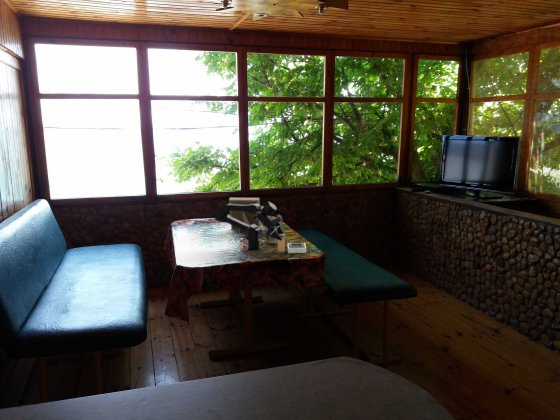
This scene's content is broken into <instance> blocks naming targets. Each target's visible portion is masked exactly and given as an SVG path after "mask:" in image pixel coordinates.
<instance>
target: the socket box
mask: <svg viewBox="0 0 560 420" xmlns="http://www.w3.org/2000/svg"><path fill="white" fill-rule="evenodd" d="M287 253H288V254H306V253H307V246H306V242H287Z"/></svg>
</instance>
